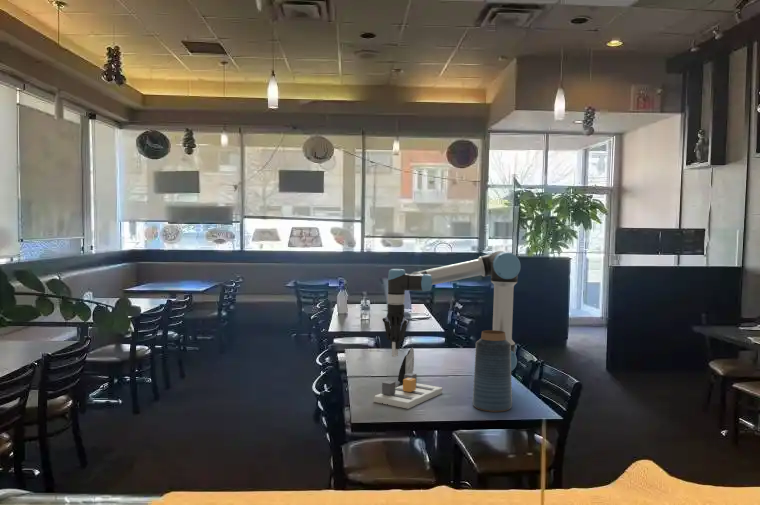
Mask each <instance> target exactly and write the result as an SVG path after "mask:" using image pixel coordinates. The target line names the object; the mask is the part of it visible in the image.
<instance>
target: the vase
mask: <svg viewBox="0 0 760 505" xmlns="http://www.w3.org/2000/svg"><path fill="white" fill-rule="evenodd" d="M480 336H481V337H480V338H479V339H478V340H477V341H476V342H475V351H474V353H475V354H474V355H475V356H474V372H473V385H472V386H473V388H472V391H473V392H472V405H473V406H474V408H475V409H477V410H480V411H484V412H490V413H499V412H500V413H501V412H502V413H503V412H507V411H509V410H510V409H511V408H512V406H513V395H512V394H513V392H512V391H513V390H512V385H513V384H512V371H511V343H509V342H508V341H507V340H506V336H505V332H503V331H497V330H493V329H487V330H485V329H484V330H482V331H481V335H480Z"/></svg>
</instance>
